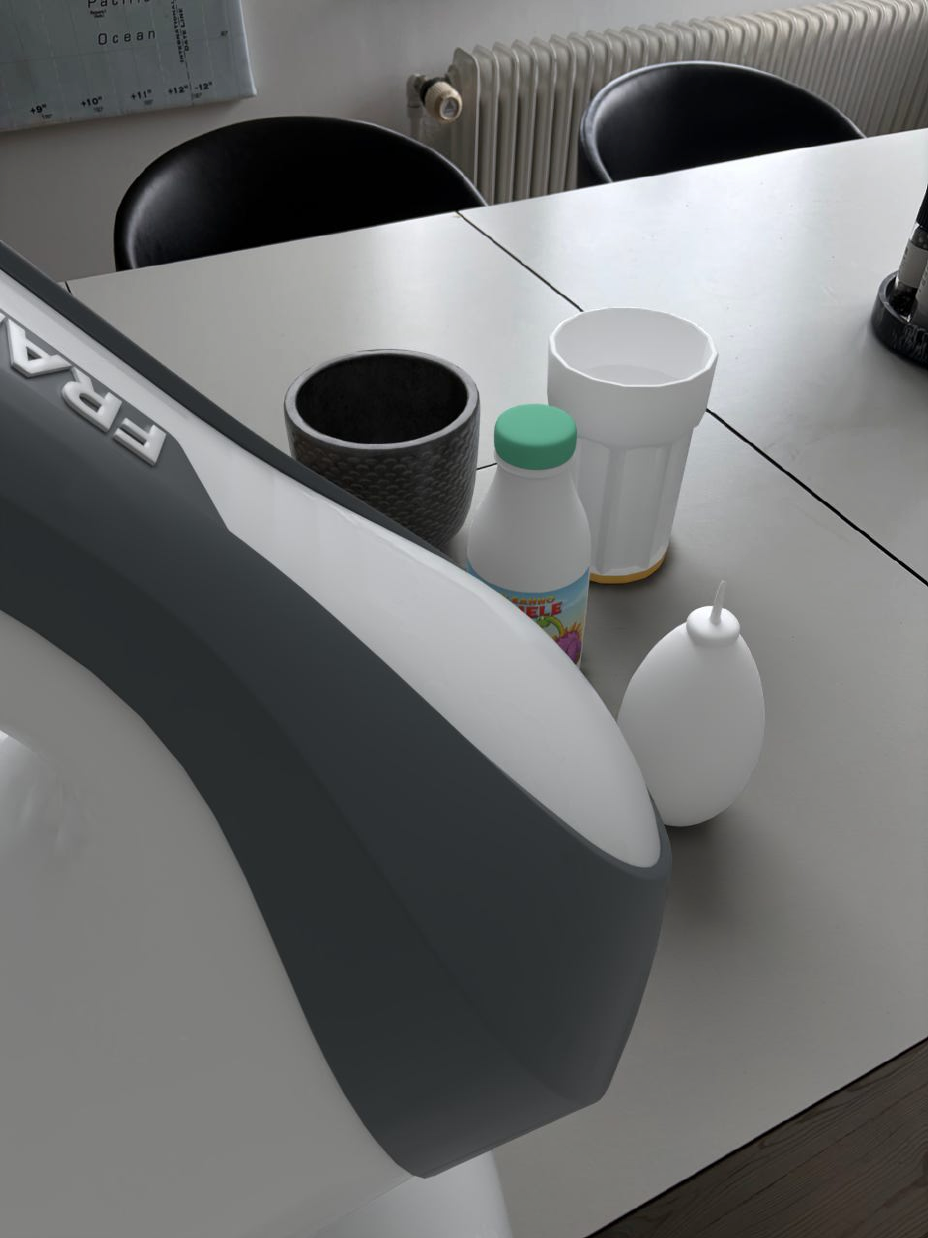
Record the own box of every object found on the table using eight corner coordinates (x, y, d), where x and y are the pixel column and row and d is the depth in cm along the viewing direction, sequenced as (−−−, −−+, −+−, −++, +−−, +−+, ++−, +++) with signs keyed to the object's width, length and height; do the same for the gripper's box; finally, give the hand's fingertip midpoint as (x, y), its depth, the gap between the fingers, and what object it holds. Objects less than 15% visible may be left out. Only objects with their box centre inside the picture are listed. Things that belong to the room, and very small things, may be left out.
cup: (521, 511, 82) (530, 312, 70) (653, 496, 84) (684, 299, 72) (555, 603, 74) (572, 395, 62) (701, 584, 76) (745, 378, 64)
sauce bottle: (586, 772, 63) (615, 549, 50) (697, 740, 65) (752, 517, 52) (642, 875, 57) (691, 653, 45) (762, 837, 59) (840, 614, 47)
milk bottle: (468, 633, 72) (468, 384, 58) (576, 635, 72) (601, 387, 58) (464, 714, 66) (463, 460, 53) (581, 717, 66) (611, 463, 52)
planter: (378, 624, 73) (365, 476, 64) (267, 535, 80) (243, 392, 71) (515, 541, 79) (521, 398, 71) (402, 467, 87) (395, 328, 78)
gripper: (584, 721, 30) (450, 465, 40) (-165, 900, 25) (-110, 563, 35) (567, 842, 34) (451, 586, 44) (-75, 1013, 30) (-48, 686, 39)
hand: (197, 576), depth 39 cm, fingers open, 8 cm apart
